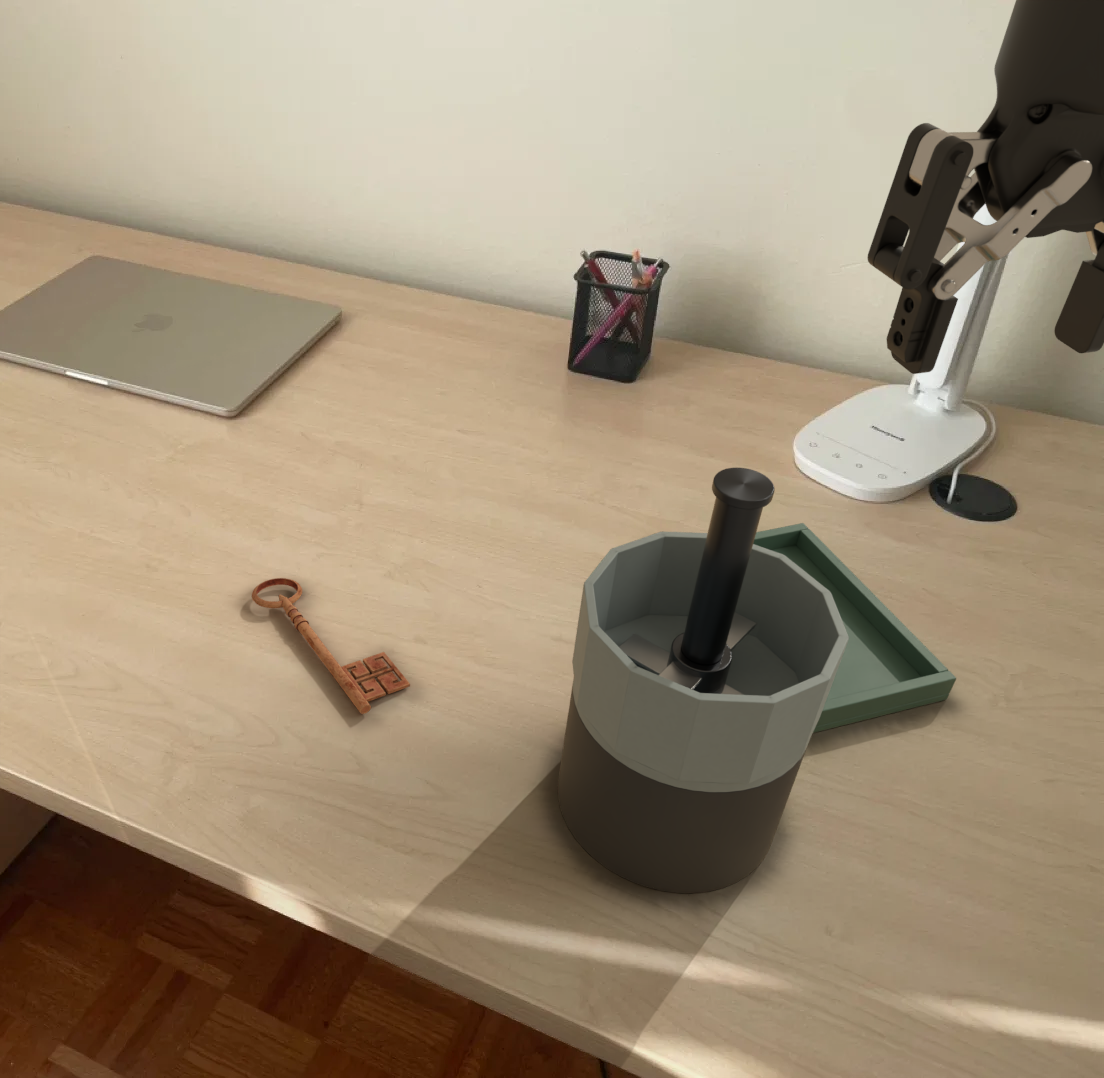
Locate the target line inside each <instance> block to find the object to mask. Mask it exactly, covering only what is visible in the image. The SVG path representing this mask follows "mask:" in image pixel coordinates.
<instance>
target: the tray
mask: <svg viewBox="0 0 1104 1078" xmlns="http://www.w3.org/2000/svg"><path fill="white" fill-rule="evenodd" d="M753 544H754V545H757V546H760V547H763V548H766V549H769V550H772V551H774V552H777V553H780V554H783V555H785V556H786V557H788V558H789V559H790V560H791V561H793V562H794V563H795V564H796V565H798V566H799V567H800V568H801V569H803V570H804V571H805V572H806V573H808V574H809V575H810V576H811V577H813V578H814V579H815V580H816V581H818V582H819V583H820V584H821V585H823V586H824V587H825V588H826V589H827V590H829V591H830V592H831V594H832V597H833V599H834V602H835V604H836V607H837V609H838V612H839V614H840V617H841V619H842V622H843V624H844V627H845V629H846V632H847V634H848V637H849V640H848V642H847V645H846V648H845V651H844V653H843V656H842V659H841V661H840V664H839V667H838V670H837V672H836V675H835V678H834V680H833V683H832V686H831V688H830V691H829V694H828V697H827V699H826V702H825V705H824V707H823V710H822V713H821V715H820V718H819V720H818V722H817V725H816V727H815V729H814V731H813V733H812V734H815V733H819V732H822V731H827V730H830V729H834V728H838V727H842V726H846V725H847V726H848V725H850V724H855V723H858V722H862V721H867V720H870V719H875V718H878V717H882V716H886V715H890V714H895V713H899V712H903V711H906V710H911V709H915V708H919V707H922V706H927V705H931V704H934V703H939V702H943V701H946V700H947V699H948V698H949V696H950V693H951V691H952V689H953V687H954V685H955V682H956V681H957V676H955V675H954V674H953V672H952V671H951V670H949V668H948V667H947V666H946V665H945V664H944V663H942V661H940V659H939V658H937V656H936V655H935V654H934V653H933V652H932V651H931V650H929V648H928V647H927V646H926V645H925V644H924V643H923V642H922V641H921V640H920V639H919V638H918V637H917V636H916V635H915V634H914V633H913V632H912V631H911V630H910V629H909V628H908V626H907V625H905V624H904V623H903V622H902V621H901V620H900V619H899V618H898V617H897V615H895V614H894V613H893V612H892V610H890V609H889V608H888V607H887V606H886V605H885V604H884V603H883V602H882V601H881V600H880V598H878V596H877V595H875V593H874V592H873V591H871V590H870V588H868V587H867V585H866V584H864V582H863V581H862V580H860V578H859V577H857V576H856V575H855V573H853V572H852V570H851V569H850V568H848V566H847V565H846V564H845V563H844V562H842V561H841V559H840V558H839V557H838V556H837V555H836V554H835V553H834V552H833V551H832V550H831V549H830V548H829V547H828V546H827V545H826V544H825V543H824V542H823V541H822V540H821V539H820V538H819V537H818V536H817V535H816V534H815V533H814V531H812V530H811V529H810V528H809V527H808V526H807V525H806V524H805V523H804V522H800V523H795V524H790V525H786V526H780V527H776V528H775V527H774V528H771V529H765V530H760V531H757V532H756V535H755V539H754V543H753Z"/></svg>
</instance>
